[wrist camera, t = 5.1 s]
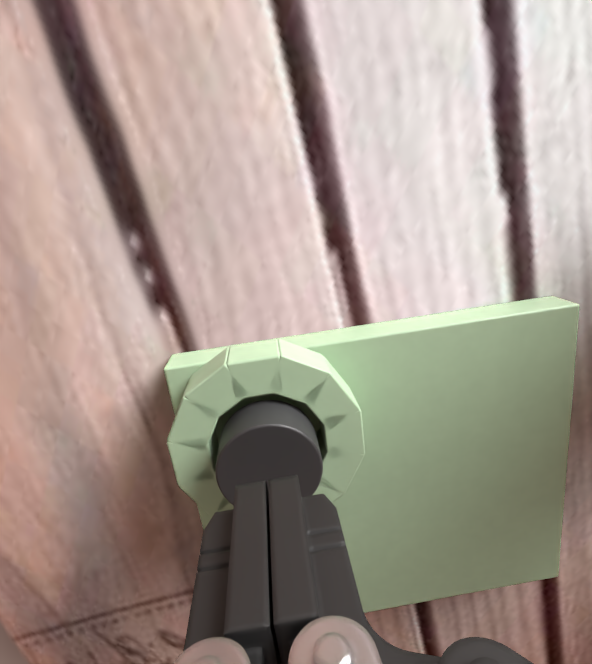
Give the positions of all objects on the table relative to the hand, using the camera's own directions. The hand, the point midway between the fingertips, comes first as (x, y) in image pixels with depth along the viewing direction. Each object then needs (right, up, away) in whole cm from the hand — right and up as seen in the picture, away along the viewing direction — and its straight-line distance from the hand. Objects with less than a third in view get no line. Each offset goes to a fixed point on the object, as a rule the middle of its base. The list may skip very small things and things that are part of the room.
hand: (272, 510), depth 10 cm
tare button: (0, +1, +3) cm, 3 cm away
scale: (+4, -1, +7) cm, 8 cm away
